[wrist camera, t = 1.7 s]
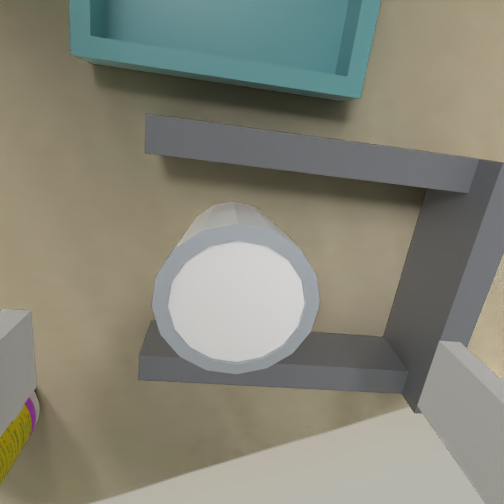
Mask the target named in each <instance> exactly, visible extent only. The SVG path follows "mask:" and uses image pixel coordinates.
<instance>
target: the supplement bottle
mask: <svg viewBox="0 0 504 504" xmlns="http://www.w3.org/2000/svg"><path fill="white" fill-rule="evenodd" d="M39 412H40V406H39V402H38V399H37V396H36V394H35V392H34V391H33V392H32V394H31V395H30V397H29V398H28V399H27V401H26V402H25V403H24V405H23V406H22V408H21V409H20V410H19V412H18V413H17V415H16V416H15V417H14V419H13V420H12V422H11V423H10V424H9V426H8V427H7V428H6V430H5V431H4V433H3V434H2V435H1V437H0V485H1V483H2V482H3V480H4V478H5V477H6V475H7V473H8V472H9V470H10V468H11V467H12V465H13V463H14V462H15V460H16V458H17V457H18V455H19V453H20V451H21V450H22V448H23V447H24V445H25V443H26V441H27V440H28V438H29V436H30V435H31V433H32V431H33V429H34V428H35V426H36V424H37V421H38V418H39Z"/></svg>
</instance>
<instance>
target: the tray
mask: <svg viewBox="0 0 504 504" xmlns="http://www.w3.org/2000/svg"><path fill="white" fill-rule="evenodd" d="M380 3H381V0H69V19H70V47H71V55H73V56H75V57H78V58H80V59H82V60H84V61H87V62H89V63H91V64H97V65H104V66H111V67H118V68H124V69H131V70H138V71H144V72H151V73H158V74H164V75H171V76H178V77H184V78H191V79H198V80H204V81H211V82H218V83H224V84H231V85H238V86H244V87H251V88H258V89H264V90H271V91H278V92H285V93H291V94H298V95H305V96H311V97H318V98H325V99H331V100H338V101H348V100H354V99H360V97H361V93H362V88H363V83H364V78H365V74H366V69H367V64H368V60H369V55H370V50H371V46H372V41H373V36H374V31H375V27H376V22H377V17H378V13H379V8H380Z"/></svg>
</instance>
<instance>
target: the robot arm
mask: <svg viewBox="0 0 504 504" xmlns="http://www.w3.org/2000/svg"><path fill="white" fill-rule="evenodd" d="M36 387H37V382H36V369H35V356H34V343H33V330H32V317H31V311H29V310H16V309H3V310H1V311H0V437H1V435H2V434H3V433H4V431H5V430H6V428H7V427H8V426H9V424H10V423H11V422H12V420H13V419H14V417H15V416H16V415H17V413H18V412H19V410H20V409H21V408H22V406H23V405H24V403H25V402H26V401H27V399H28V398H29V397H30V395H31V394H32V392H33V391H34V390H35V388H36ZM417 406H418V408H419V409H420V410H421V412H422V413H423V415H424V416H425V418H426V419H427V421H428V422H429V423H430V425H431V426H432V427H433V429H434V430H435V432H436V433H437V435H438V436H439V438H440V439H441V440H442V442H443V443H444V445H445V446H446V448H447V449H448V451H449V452H450V454H451V455H452V456H453V458H454V459H455V461H456V462H457V464H458V465H459V466H460V468H461V469H462V471H463V472H464V474H465V475H466V477H467V478H468V479H469V481H470V482H471V484H472V485H473V487H474V488H475V489H476V491H477V492H478V494H479V495H480V497H481V498H482V499H483V501H484V502H485V504H504V382H503V381H502V380H501V379H500V378H499V377H498V376H497V375H496V374H495V373H494V372H493V371H491V370H490V369H489V368H488V367H487V366H486V365H485V364H484V363H483V362H482V361H480V360H479V359H478V358H477V357H476V356H475V355H474V354H473V353H472V352H471V351H469V350H468V349H467V348H466V347H465V346H464V345H463V344H462V343H461V342H452V341H439V343H438V346H437V349H436V352H435V355H434V358H433V361H432V364H431V367H430V370H429V372H428V375H427V378H426V381H425V384H424V387H423V390H422V393H421V396H420V399H419V402H418V405H417Z"/></svg>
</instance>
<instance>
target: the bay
mask: <svg viewBox="0 0 504 504" xmlns="http://www.w3.org/2000/svg"><path fill="white" fill-rule="evenodd" d="M145 153H148V154H156V155H164V156H172V157H180V158H188V159H196V160H204V161H212V162H220V163H228V164H236V165H244V166H253V167H261V168H269V169H277V170H285V171H293V172H301V173H309V174H317V175H325V176H333V177H341V178H349V179H358V180H366V181H374V182H382V183H390V184H398V185H406V186H414V187H422V188H427V190H426V193H425V196H424V200H423V203H422V207H421V210H420V214H419V217H418V220H417V224H416V227H415V231H414V234H413V238H412V241H411V244H410V248H409V251H408V255H407V258H406V262H405V265H404V268H403V272H402V275H401V279H400V282H399V286H398V289H397V292H396V296H395V299H394V303H393V306H392V309H391V313H390V316H389V320H388V323H387V327H386V330H385V333H384V337H374V336H360V335H346V334H332V333H318V332H310V333H309V334H308V336H307V337H306V338H305V339H304V340H303V342H302V343H301V344H300V345H299V346H298V348H297V349H296V350H295V351H294V352H293V354H291V355H289V356H287V357H286V358H284V359H282V360H280V361H279V362H277V363H275V364H273V365H272V366H270V367H268V368H266V369H261V370H256V371H251V372H246V373H241V374H231V373H223V372H216V371H208V370H205V369H203V368H201V367H199V366H197V365H195V364H193V363H191V362H189V361H187V360H185V359H183V358H181V357H180V356H179V355H178V354H177V353H176V352H175V351H174V350H173V348H172V347H171V346H170V345H169V344H168V343H167V342H166V340H165V339H164V338H163V337H162V336H161V335H160V332H159V329H158V326H157V322H156V321H151V323H150V326H149V329H148V331H147V334H146V337H145V340H144V343H143V346H142V348H141V351H140V354H139V373H138V380H147V381H167V382H186V383H205V384H225V385H244V386H263V387H283V388H302V389H321V390H341V391H360V392H379V393H399V394H402V395H403V397H404V398H405V400H406V401H407V403H408V404H409V406H410V407H411V409H412V410H413V412H414V413H422V412H421V410H420V409H419V408H418V406H417V405H418V402H419V399H420V396H421V393H422V390H423V387H424V384H425V381H426V378H427V375H428V372H429V370H430V367H431V364H432V361H433V358H434V355H435V352H436V349H437V346H438V343H439V341H452V342H461V343H462V344H463V345H464V346H465V347H466V348H467V346H468V343H469V341H470V338H471V336H472V333H473V330H474V328H475V325H476V323H477V320H478V317H479V315H480V312H481V310H482V307H483V304H484V302H485V299H486V297H487V294H488V292H489V289H490V286H491V284H492V281H493V279H494V276H495V273H496V271H497V268H498V266H499V263H500V260H501V258H502V255H503V253H504V162H497V161H490V160H483V159H476V158H470V157H463V156H455V155H448V154H441V153H433V152H426V151H419V150H411V149H404V148H397V147H389V146H382V145H375V144H368V143H360V142H353V141H346V140H338V139H331V138H324V137H316V136H309V135H302V134H294V133H287V132H280V131H272V130H265V129H258V128H250V127H243V126H236V125H228V124H221V123H214V122H206V121H199V120H192V119H184V118H177V117H170V116H162V115H153V114H146V128H145Z"/></svg>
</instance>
